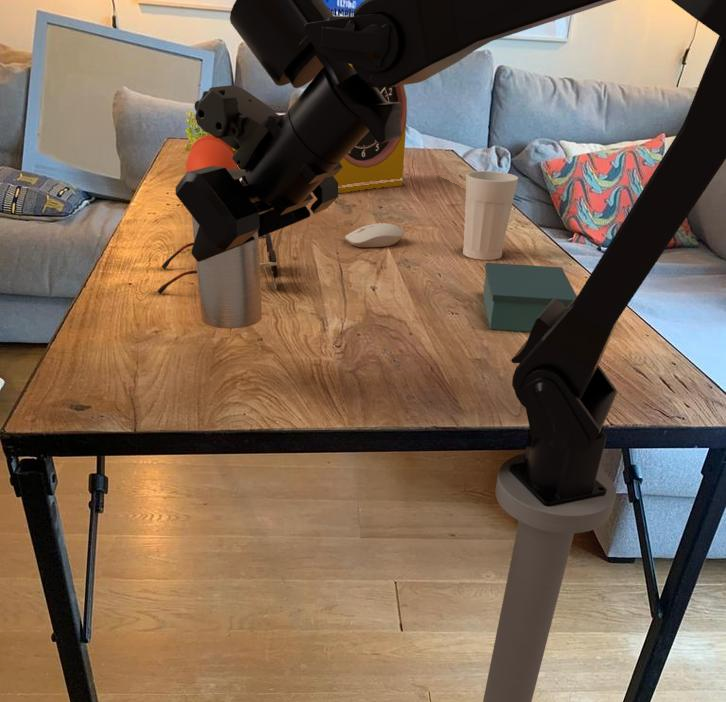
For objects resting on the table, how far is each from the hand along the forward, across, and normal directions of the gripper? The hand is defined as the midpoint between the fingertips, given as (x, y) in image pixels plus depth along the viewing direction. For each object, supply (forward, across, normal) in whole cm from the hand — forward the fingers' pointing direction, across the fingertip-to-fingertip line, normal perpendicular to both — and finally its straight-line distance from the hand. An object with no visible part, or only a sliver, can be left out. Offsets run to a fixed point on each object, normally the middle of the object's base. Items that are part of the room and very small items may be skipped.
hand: (215, 249), depth 70 cm
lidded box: (-7, -36, +26) cm, 44 cm away
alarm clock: (+31, -94, -13) cm, 100 cm away
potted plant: (+48, -79, -29) cm, 97 cm away
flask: (+4, 0, +6) cm, 7 cm away
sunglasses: (+22, -25, -4) cm, 34 cm away
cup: (+3, -59, +16) cm, 62 cm away
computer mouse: (+15, -55, +4) cm, 57 cm away
